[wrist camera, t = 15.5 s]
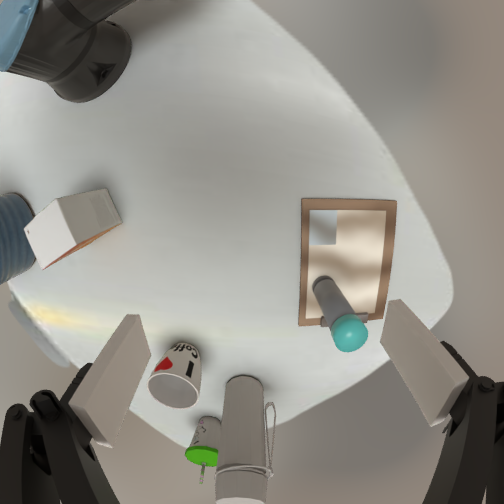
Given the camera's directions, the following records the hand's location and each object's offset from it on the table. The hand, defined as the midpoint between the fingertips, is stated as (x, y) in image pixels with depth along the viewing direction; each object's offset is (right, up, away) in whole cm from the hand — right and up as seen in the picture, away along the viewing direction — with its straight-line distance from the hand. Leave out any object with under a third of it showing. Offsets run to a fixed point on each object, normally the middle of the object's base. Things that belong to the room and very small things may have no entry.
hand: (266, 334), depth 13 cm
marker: (+10, -1, +27) cm, 29 cm away
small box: (-25, +10, +25) cm, 37 cm away
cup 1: (-13, -14, +32) cm, 37 cm away
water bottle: (-1, -21, +34) cm, 40 cm away
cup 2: (-10, -33, +38) cm, 51 cm away
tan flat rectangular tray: (+14, +2, +27) cm, 30 cm away
